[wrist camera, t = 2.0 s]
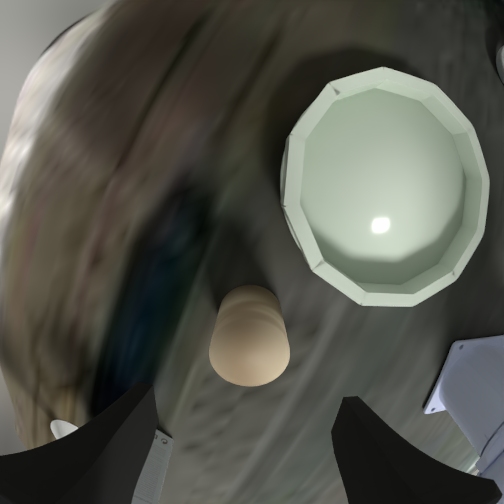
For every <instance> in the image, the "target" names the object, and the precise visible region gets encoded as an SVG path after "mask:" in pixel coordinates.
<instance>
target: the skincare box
mask: <svg viewBox="0 0 504 504" xmlns="http://www.w3.org/2000/svg"><path fill="white" fill-rule="evenodd" d="M172 446H173V439H171V438H170V437H168V436H167V435H165V434H164V433H162V432H161V431H159V430H157V429H156V433H155V437H154V441H153V444H152V446H151V449H150V452H149V454H148V457H147V459H146V462H145V464H144V467H143V469H142V472H141V474H140V477H139V479H138V482H137V485H136V488H135V491H134V495H133V499H132V503H131V504H158V502H159V498H160V494H161V490H162V486H163V482H164V478H165V474H166V470H167V466H168V462H169V458H170V454H171V450H172Z"/></svg>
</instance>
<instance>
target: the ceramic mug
mask: <svg viewBox="0 0 504 504" xmlns="http://www.w3.org/2000/svg"><path fill="white" fill-rule="evenodd" d="M496 66H497V70H498V73H499V76H500V79H501V81H502V83H503V84H504V46H502V47H501V48H500V49H499V51H498V52H497V56H496Z"/></svg>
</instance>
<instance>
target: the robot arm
mask: <svg viewBox="0 0 504 504" xmlns="http://www.w3.org/2000/svg"><path fill="white" fill-rule="evenodd" d="M442 410H447V411H448V412H449V414H450V415H451V416H452V418H453V419H454V420H455V422H456V423H457V425H458V426H459V427H460V429H461V430H462V432H463V433H464V434H465V436H466V437H467V439H468V440H469V442H470V443H471V444H472V446H473V447H474V449H475V450H476V452H477V453H478V455H479V456H480V459H479V460H478V461H477V463H476V464H475V465H476V467H477V468H478V470H479V472H478V474H477V476H474V475H471V474H468V473H465V472H462V471H459V470H457V469H454V468H452V467H449V466H447V465H445V464H443V463H441V462H439V461H437V460H435V459H433V458H431V457H430V456H428V455H426V454H425V453H423V452H422V451H420V450H419V449H417V448H416V447H414V446H413V445H411V444H410V443H409V442H407V441H406V440H405V439H404V438H402V437H401V436H400V435H399V434H397V433H396V432H395V431H394V430H393V429H392V428H391V427H389V426H388V425H387V424H386V423H385V422H384V421H383V420H382V419H381V418H380V417H379V416H378V415H377V414H376V413H375V412H374V411H373V410H372V409H371V408H369V407H368V406H367V405H366V404H365V403H364V402H363V401H362V400H361V399H360V398H359V397H358V396H354V397H343V400H342V403H341V406H340V409H339V412H338V414H337V417H336V420H335V423H334V425H333V428H332V430H331V434H332V442H333V448H334V454H335V457H336V461H337V464H338V467H339V471H340V474H341V477H342V480H343V484H344V487H345V490H346V494H347V498H348V502H349V504H504V335H500V336H493V337H485V338H477V339H469V340H460V341H455V342H454V343H453V344H452V346H451V349H450V351H449V354H448V357H447V359H446V362H445V364H444V366H443V369H442V371H441V374H440V376H439V378H438V380H437V383H436V385H435V387H434V389H433V391H432V393H431V396H430V398H429V400H428V402H427V404H426V406H425V408H424V410H423V411H424V413H425V414H429V413H434V412H438V411H442ZM157 424H158V415H157V409H156V402H155V395H154V387H153V385H151V384H146V383H140V382H138V383H136V384H135V385H134V386H133V387H132V388H130V389H129V390H128V391H127V392H126V393H125V394H124V395H122V396H121V397H120V398H119V399H118V400H117V401H115V402H114V403H113V404H112V405H111V406H109V407H108V408H107V409H106V410H104V411H103V412H102V413H100V414H99V415H98V416H96V417H95V418H93V419H92V420H91V421H89V422H88V423H86V424H85V425H83V426H82V427H80V428H78V429H77V430H75V431H73V432H71V433H70V434H68V435H66V436H64V437H62V438H60V439H57V440H55V441H53V442H50V443H48V444H46V445H43V446H40V447H37V448H34V449H31V450H27V451H24V452H20V453H15V454H9V455H3V456H0V504H131V503H132V499H133V495H134V491H135V488H136V485H137V482H138V479H139V477H140V474H141V472H142V469H143V467H144V464H145V462H146V459H147V457H148V454H149V452H150V449H151V446H152V444H153V441H154V437H155V433H156V429H157Z"/></svg>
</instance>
